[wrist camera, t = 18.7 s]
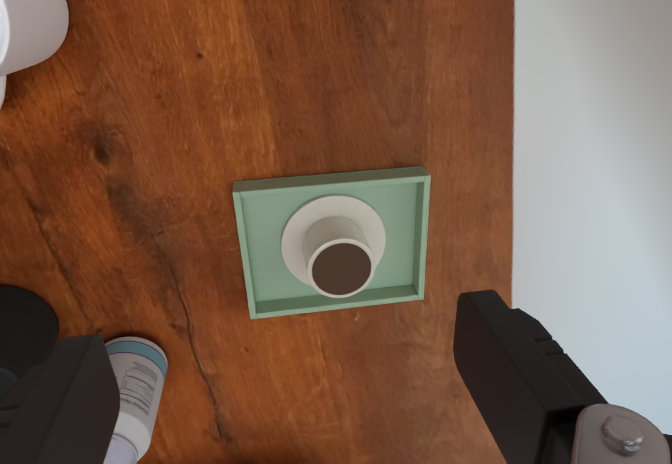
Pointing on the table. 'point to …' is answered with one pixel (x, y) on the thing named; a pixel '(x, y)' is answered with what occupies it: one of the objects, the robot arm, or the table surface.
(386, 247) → the tray
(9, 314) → the pen holder
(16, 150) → the table surface
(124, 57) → the table surface
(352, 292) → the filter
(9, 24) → the cup
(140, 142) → the table surface
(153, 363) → the beverage can
